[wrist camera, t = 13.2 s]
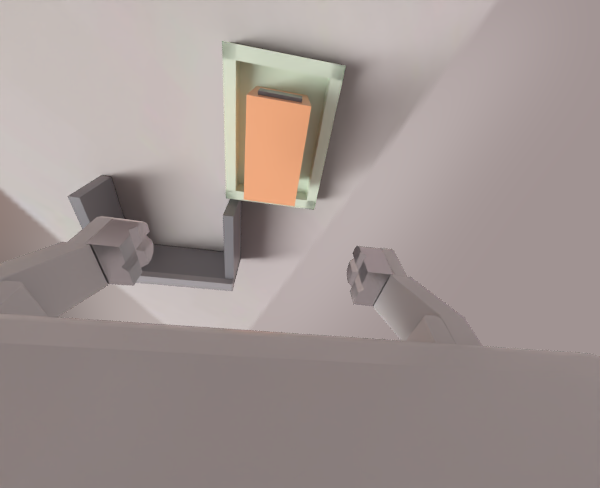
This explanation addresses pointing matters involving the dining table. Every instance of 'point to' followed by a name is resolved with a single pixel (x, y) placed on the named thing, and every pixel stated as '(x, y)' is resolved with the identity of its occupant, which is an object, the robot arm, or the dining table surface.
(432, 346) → the robot arm
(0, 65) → the dining table surface
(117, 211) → the bay
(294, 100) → the orange block
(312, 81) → the tray
